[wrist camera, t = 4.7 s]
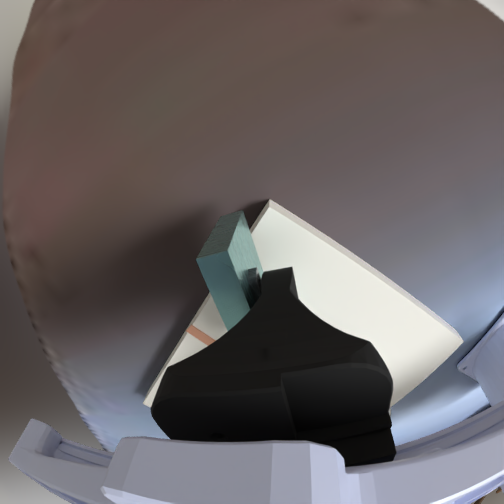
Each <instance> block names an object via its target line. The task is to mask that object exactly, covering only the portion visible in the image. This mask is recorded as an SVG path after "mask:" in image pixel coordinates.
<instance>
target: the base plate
mask: <svg viewBox="0 0 504 504" xmlns="http://www.w3.org/2000/svg"><path fill="white" fill-rule="evenodd" d="M250 233H251V236H252V239H253V242H254V245H255V248H256V251H257V254H258V257H259V260H260V263H261V266H262V269H263V272H265V271H270V270H276V269H281V268H286V267H293V272H294V277H295V283H296V288H297V293H298V299H299V300H300V301H301V302H302V303H303V304H304V305H305V306H306V307H307V308H308V309H309V310H310V311H312V312H313V313H314V314H315V315H316V316H318V317H319V318H320V319H322V320H323V321H325V322H326V323H328V324H330V325H331V326H333V327H335V328H337V329H339V330H341V331H343V332H345V333H347V334H350V335H353V336H356V337H359V338H362V339H365V340H368V341H370V342H371V343H372V344H373V346H374V347H375V348H376V350H377V351H378V353H379V354H380V356H381V357H382V359H383V360H384V362H385V364H386V366H387V367H388V369H389V371H390V374H391V377H392V379H393V394H392V399H391V403H390V407H392V406H393V405H394V404H396V403H397V402H398V401H399V400H401V399H402V398H403V397H405V396H406V395H407V394H408V393H409V392H411V391H412V390H413V389H414V388H416V387H417V386H418V385H419V384H420V383H421V382H423V381H424V380H425V379H426V378H427V377H428V376H429V375H430V374H432V373H433V372H434V371H435V370H436V369H437V368H438V367H439V366H440V365H441V364H442V363H443V362H444V361H445V360H446V359H447V358H448V357H449V356H450V355H451V354H452V353H453V352H454V351H455V350H456V349H457V348H458V347H459V346H460V345H461V344H462V343H463V342H464V341H463V340H462V338H461V337H460V335H459V334H458V332H457V331H456V330H455V329H454V328H453V327H452V326H450V325H449V324H448V323H447V322H445V321H444V320H443V319H442V318H440V317H439V316H438V315H437V314H435V313H434V312H433V311H431V310H430V309H429V308H428V307H426V306H425V305H424V304H422V303H421V302H420V301H418V300H417V299H416V298H414V297H413V296H412V295H410V294H409V293H408V292H406V291H405V290H404V289H402V288H401V287H400V286H398V285H397V284H396V283H394V282H393V281H391V280H390V279H389V278H387V277H386V276H384V275H383V274H382V273H380V272H379V271H377V270H376V269H375V268H373V267H372V266H370V265H369V264H368V263H366V262H365V261H363V260H362V259H360V258H359V257H358V256H356V255H355V254H353V253H352V252H350V251H349V250H347V249H346V248H344V247H343V246H341V245H340V244H339V243H337V242H336V241H334V240H333V239H331V238H330V237H328V236H327V235H325V234H324V233H322V232H320V231H319V230H317V229H316V228H314V227H313V226H311V225H310V224H308V223H307V222H305V221H304V220H302V219H300V218H299V217H297V216H296V215H294V214H293V213H291V212H289V211H288V210H286V209H285V208H283V207H282V206H280V205H278V204H277V203H275V202H274V201H272V200H270V199H269V201H268V202H267V204H266V205H265V207H264V208H263V210H262V211H261V213H260V215H259V216H258V218H257V219H256V221H255V222H254V224H253V225H252V227H251V228H250ZM226 332H228V331H227V329H226V327H225V324H224V322H223V320H222V318H221V316H220V314H219V311H218V309H217V307H216V305H215V303H214V300H213V298H212V296H211V294H210V292H209V294H208V296H207V297H206V299H205V300H204V302H203V304H202V305H201V307H200V308H199V310H198V311H197V313H196V315H195V316H194V318H193V319H192V321H191V323H190V324H189V326H188V327H187V329H186V331H185V332H184V334H183V335H182V337H181V339H180V340H179V342H178V343H177V345H176V347H175V348H174V350H173V351H172V353H171V355H170V356H169V358H168V360H167V361H166V363H165V364H164V366H163V368H162V369H161V371H160V373H159V374H158V376H157V377H156V379H155V381H154V382H153V384H152V386H151V387H150V389H149V391H148V393H147V395H146V397H145V400H144V402H143V404H144V405H146V406H148V407H150V408H151V406H152V403H153V400H154V397H155V395H156V392H157V390H158V387H159V384H160V382H161V379H162V377H163V375H164V373H165V371H166V369H167V367H169V366H171V365H173V364H175V363H177V362H180V361H182V360H184V359H186V358H188V357H190V356H192V355H194V354H195V353H197V352H199V351H201V350H202V349H204V348H205V347H207V346H209V345H210V344H212V343H213V342H215V341H216V340H217V339H219V338H220V337H221V336H223V335H224V334H225V333H226Z"/></svg>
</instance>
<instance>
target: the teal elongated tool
mask: <svg viewBox="0 0 504 504" xmlns="http://www.w3.org/2000/svg"><path fill="white" fill-rule="evenodd" d="M196 261H197V264H198V266H199V268H200V271H201V273H202V275H203V278H204V280H205V282H206V284H207V287H208V289H209V291H210V294H211V296H212V298H213V300H214V303H215V305H216V307H217V309H218V311H219V314H220V316H221V318H222V320H223V322H224V324H225V327H226V329H227V331H229V330H230V329H231V328H232V327H234V326H235V325H236V324H237V323H238V322H239V321H240V320H241V319H242V318H243V317H244V316H245V315H246V314H247V313H248V312H249V311H250V310H251V308H252V307H253V306H254V304H255V303H256V302H257V300H258V299H259V298H260V296H261V277H262V274H263V269H262V266H261V263H260V260H259V257H258V254H257V251H256V248H255V245H254V242H253V239H252V236H251V233H250V230H249V227H248V224H247V221H246V218H245V215H244V212H243V210H241V211H238V212H234V213H231V214H228V215H224V216H221V217H220V219H219V220H218V222H217V224H216V225H215V227H214V229H213V230H212V232H211V234H210V236H209V237H208V239H207V241H206V242H205V244H204V246H203V248H202V249H201V251H200V253H199V255H198V256H197V258H196ZM389 415H391V408H389Z"/></svg>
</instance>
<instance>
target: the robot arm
mask: <svg viewBox="0 0 504 504" xmlns="http://www.w3.org/2000/svg"><path fill="white" fill-rule="evenodd" d="M457 368H458V370H459V371H461V372H462V373H464V374H466V375H467V376H469V377H471V378H472V379H474V380H476V381H477V382H478V383H479V384H480V386H481V388H482V390H483V392H484V393H485V395H486V397H487V399H488V401H489V403H490V405H491V407H490V408H488V409H486V410H485V411H483V412H481V413H479V414H477V415H475V416H473V417H471V418H469V419H467V420H464V421H462V422H460V423H458V424H456V425H453V426H451V427H449V428H446V429H444V430H441V431H439V432H436V433H434V434H431V435H429V436H426V437H423V438H420V439H417V440H414V441H411V442H408V443H405V444H402V445H399V446H396V447H395V444H394V440H393V436H392V433H391V429H390V428H391V426H392V422H391V418H390V415H389V408H390V403H391V399H392V394H393V379H392V377H391V374H390V371H389V369H388V367H387V366H386V364H385V362H384V360H383V359H382V357H381V356H380V354H379V353H378V351H377V350H376V348H375V347H374V346H373V344H372V343H371V342H370V341H368V340H365V339H362V338H359V337H356V336H353V335H350V334H347V333H345V332H343V331H341V330H339V329H337V328H335V327H333V326H331V325H330V324H328V323H326V322H325V321H323V320H322V319H320V318H319V317H318V316H316V315H315V314H314V313H313V312H312V311H310V310H309V309H308V308H307V307H306V306H305V305H304V304H303V303H302V302H301V301H300V300H299V299H298V293H297V288H296V283H295V277H294V272H293V267H286V268H281V269H276V270H270V271H265V272H263V274H262V277H261V296H260V298H259V299H258V300H257V302H256V303H255V304H254V306H253V307H252V308H251V310H250V311H249V312H248V313H247V314H246V315H245V316H244V317H243V318H242V319H241V320H240V321H239V322H238V323H237V324H236V325H235V326H234V327H232V328H231V329H230V330H229V331H228V332H226V333H225V334H224V335H223V336H221V337H220V338H219V339H217V340H216V341H215V342H213V343H212V344H210V345H209V346H207V347H205V348H204V349H202V350H201V351H199V352H197V353H195V354H194V355H192V356H190V357H188V358H186V359H184V360H182V361H180V362H177V363H175V364H173V365H171V366H169V367H167V369H166V371H165V373H164V375H163V377H162V379H161V382H160V384H159V387H158V390H157V392H156V395H155V397H154V400H153V403H152V406H151V414H152V417H153V419H154V420H155V422H156V423H157V425H158V426H159V427H160V428H161V429H162V430H163V432H164V433H165V434H166V435H167V436H168V437H169V438H170V439H171V440H170V439H160V438H152V437H125V438H122V439H121V440H120V442H119V443H118V445H117V447H116V450H115V452H114V453H111V452H107V451H103V450H99V449H96V448H93V447H89V446H86V445H83V444H80V443H76V442H73V441H70V440H68V439H65V438H62V436H61V435H60V434H59V433H58V432H57V431H56V430H55V429H54V428H52V427H51V426H50V425H48V424H46V423H44V422H41V421H38V420H36V419H31V420H30V422H29V423H28V425H27V427H26V429H25V430H24V432H23V433H22V435H21V437H20V439H19V440H18V442H17V444H16V446H15V447H14V449H13V451H12V453H11V455H10V457H9V459H8V460H9V462H11V463H12V464H13V465H14V466H15V467H17V468H18V469H19V470H21V471H22V472H23V473H25V474H26V475H27V476H29V477H30V478H31V479H33V480H34V481H35V482H37V483H38V484H40V485H41V486H43V487H44V488H46V489H47V490H49V491H50V492H52V493H54V494H55V495H57V496H59V497H61V498H63V499H64V500H66V501H68V502H70V503H72V504H470V503H472V502H474V501H476V500H478V499H479V498H481V497H483V496H484V495H486V494H488V493H489V492H491V491H493V490H494V489H496V488H497V487H499V486H500V487H501V489H502V491H503V493H504V313H503V314H502V316H501V317H500V318H499V319H498V321H497V322H496V323H495V324H494V325H493V327H492V328H491V329H490V330H489V331H488V332H487V334H486V335H485V336H484V337H483V338H482V339H481V340H480V342H479V343H478V344H477V345H476V346H475V347H474V348H473V349H472V350H471V351H470V352H469V353H468V354H467V355H466V356H465V357H464V358H463V359H462V360H461V361H460V362H459V364H458V365H457Z"/></svg>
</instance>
